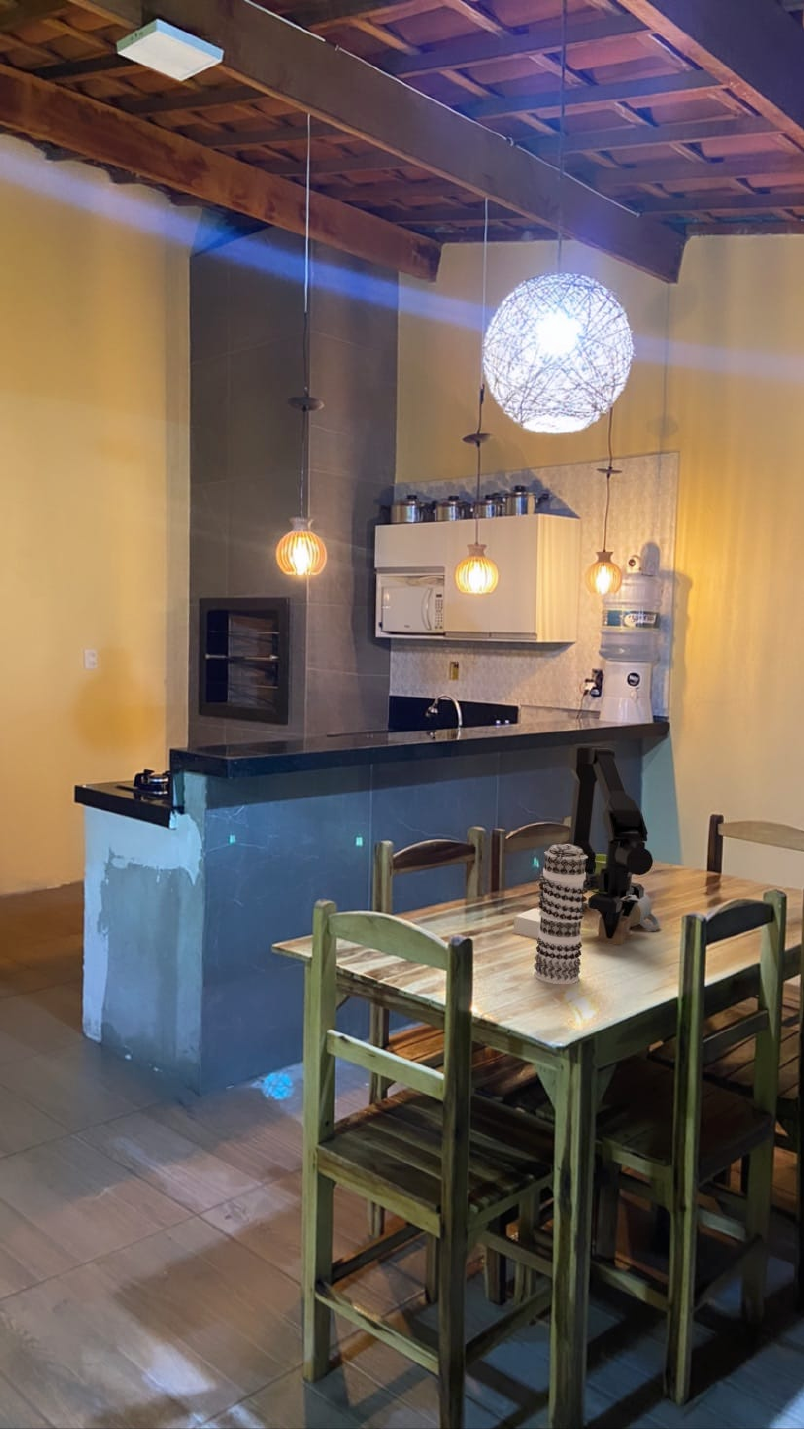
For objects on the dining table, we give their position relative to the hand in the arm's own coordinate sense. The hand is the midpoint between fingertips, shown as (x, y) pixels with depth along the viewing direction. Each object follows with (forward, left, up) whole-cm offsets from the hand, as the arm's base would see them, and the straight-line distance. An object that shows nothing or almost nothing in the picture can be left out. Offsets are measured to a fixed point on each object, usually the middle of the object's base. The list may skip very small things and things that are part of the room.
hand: (613, 935), depth 219 cm
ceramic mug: (-15, 0, -1) cm, 15 cm away
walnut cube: (0, 0, -1) cm, 1 cm away
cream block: (+6, -14, -1) cm, 15 cm away
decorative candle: (+31, 0, -1) cm, 31 cm away
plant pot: (-40, -17, -1) cm, 43 cm away
